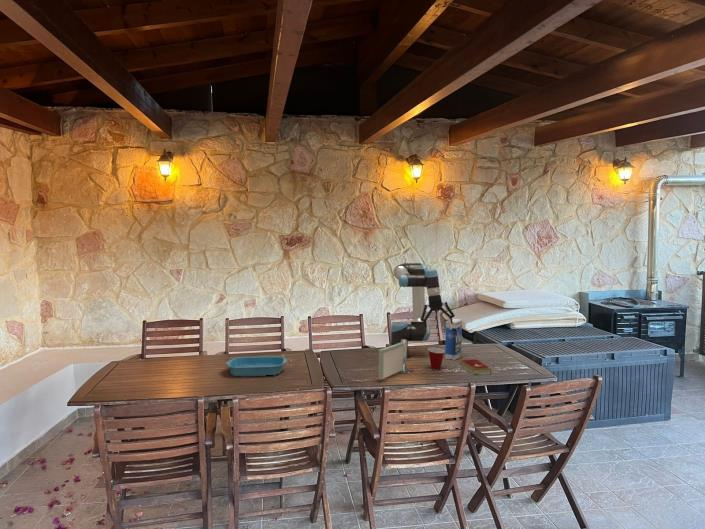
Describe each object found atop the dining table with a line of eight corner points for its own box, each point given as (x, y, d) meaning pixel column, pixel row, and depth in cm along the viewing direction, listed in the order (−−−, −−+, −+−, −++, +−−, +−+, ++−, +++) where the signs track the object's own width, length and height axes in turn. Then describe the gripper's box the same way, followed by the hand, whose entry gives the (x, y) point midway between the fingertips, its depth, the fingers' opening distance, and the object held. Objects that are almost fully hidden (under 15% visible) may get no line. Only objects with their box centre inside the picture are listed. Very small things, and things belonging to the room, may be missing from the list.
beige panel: (399, 369, 288) (400, 342, 287) (402, 370, 287) (403, 343, 286) (378, 378, 270) (378, 350, 269) (381, 379, 269) (381, 350, 268)
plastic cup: (444, 371, 290) (445, 352, 289) (427, 370, 292) (427, 351, 291) (445, 366, 301) (445, 347, 300) (427, 365, 303) (428, 346, 302)
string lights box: (455, 360, 314) (456, 322, 312) (444, 358, 318) (445, 321, 316) (461, 356, 325) (462, 319, 323) (451, 354, 329) (451, 318, 327)
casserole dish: (222, 378, 274) (222, 366, 273) (229, 367, 296) (229, 356, 296) (286, 377, 277) (286, 365, 276) (288, 366, 299) (288, 355, 299)
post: (394, 371, 290) (394, 339, 288) (402, 368, 295) (403, 337, 294) (404, 374, 284) (404, 342, 283) (412, 371, 290) (413, 340, 288)
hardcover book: (476, 364, 306) (477, 358, 306) (491, 374, 285) (491, 368, 285) (459, 365, 304) (459, 359, 304) (472, 375, 283) (472, 368, 283)
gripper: (414, 297, 275) (419, 333, 272) (456, 292, 277) (461, 328, 274) (412, 298, 283) (417, 333, 280) (453, 293, 284) (458, 328, 281)
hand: (439, 331), depth 277 cm, fingers open, 13 cm apart
